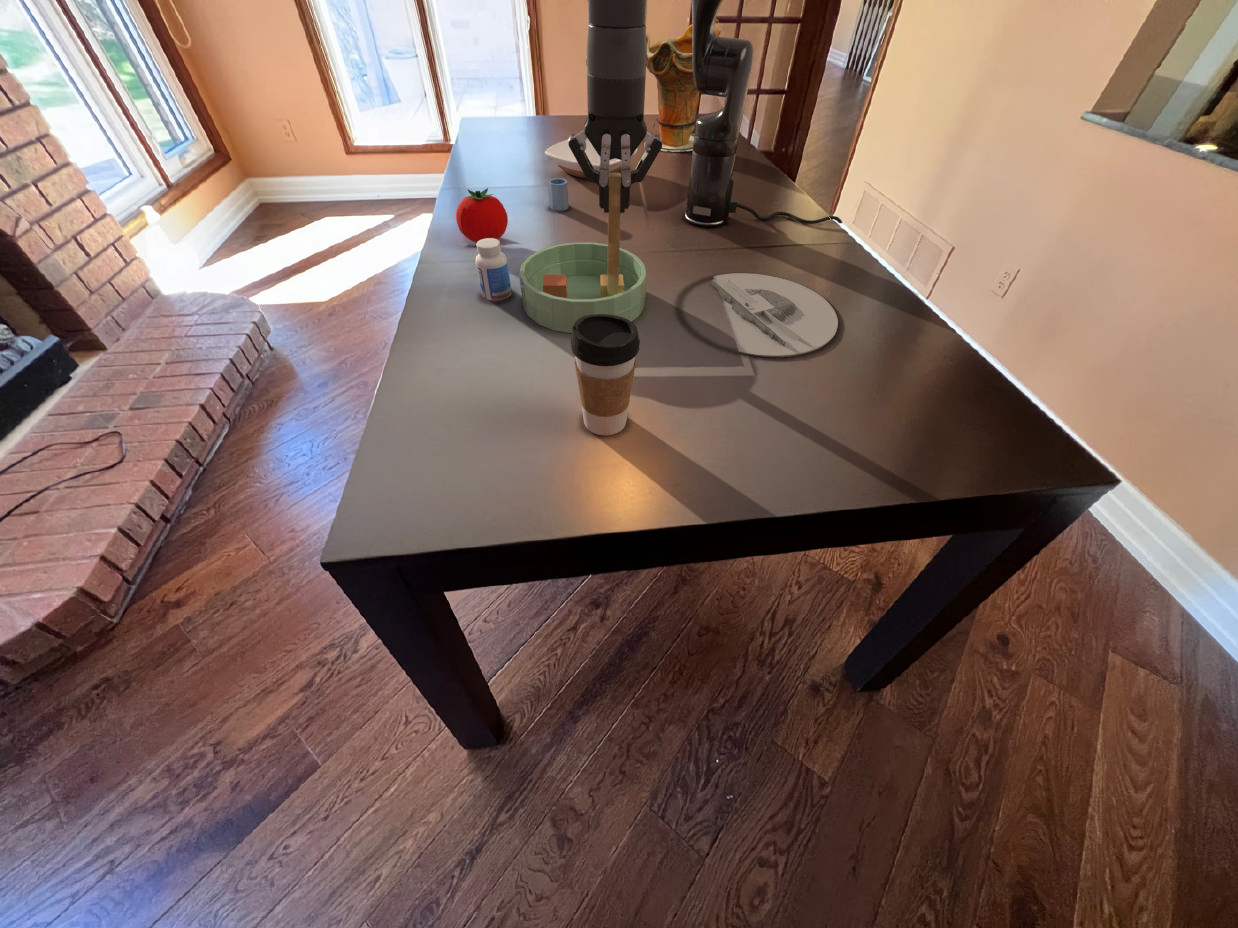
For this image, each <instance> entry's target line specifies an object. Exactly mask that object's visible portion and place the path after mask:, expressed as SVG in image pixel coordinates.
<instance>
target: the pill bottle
mask: <svg viewBox="0 0 1238 928" xmlns="http://www.w3.org/2000/svg"><path fill="white" fill-rule="evenodd" d="M475 243H476V242H475ZM476 250H477V253H478V254H477V255H476V256H475V259H474V260H475V267H476V273H477V277H478V282H479V286H480V287H479V289H480V293H481V297H482V298H484V300H485V299H486V300H489V301H502V300H506V299H507V298H509V297H510V296H511V295H512V292H513V291H512V286H511V279H510V278H511V277H510V273H509V265H508V258H507V255H506V254H505V253H504V252H502V246H501V242H500V240H499V239H498V240H497V239H494V238H486V239H482V240H479V241H478V242H477V243H476Z"/></svg>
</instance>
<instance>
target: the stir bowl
mask: <svg viewBox="0 0 1238 928" xmlns="http://www.w3.org/2000/svg"><path fill="white" fill-rule="evenodd" d="M607 272H608V243H607V244H606V243H600V242H591V241H589V242H587V241H586V242H583V241H582V242H581V241H579V242H578V241H577V242H575V241H574V242H567V243H559V244H555V245H551V246H548V247H545V248H542V249H539V250H538V251H536V252H534V253H532V254H530V255H529V256H527V258H526V259H525V260H523V262H522V263H521V265H520V269H519V273H518V274H519V275H518V276H519V284H520V293H521V300H522V306H523V308H524V310H525V313H526V315H527V316H528V317H529V318H531V320H533V322H535V323H536V324H538V325H540V326H542V327H544V328H547V329H549V330H552V331H555V332H561V333H567V334H572V327H573V325H574V323H575V322H576V321H577V320H578V319H579V318H581V317H583V316H586V315H593V314H607V315H615V316H619V317H623V318H625V319H628V320H629V321H631V322H632V323H633V321H635V320H636V319H637V318H638V317H640V315H641V313H642V311H643V310H644V307H645V305H646V303H645V302H646V289H647V270H646V265H645V263H644V262H643V261H642V259H640V257H639V256H637V255H636V254H634V253H632V252H631V251H629V250H628V249H624V248H621V247H620V248H619V275H623V280H624V292H621V293H618V294H616V295H613V296H610V297H604V298H601V277H600V275H607ZM544 275H567V292H568V298H562V297H556V296H552V295H550V294H547V293H544V292H543V279H544Z"/></svg>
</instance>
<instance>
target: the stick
mask: <svg viewBox="0 0 1238 928" xmlns="http://www.w3.org/2000/svg"><path fill="white" fill-rule="evenodd" d="M621 178H622V172H616V173H608V187H609V213H607V245H608V272H607V290H608V293H618V290H619V248H621V247H620V245H621V243H620V242H621V239H620V238H621V213H620V192H621Z"/></svg>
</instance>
